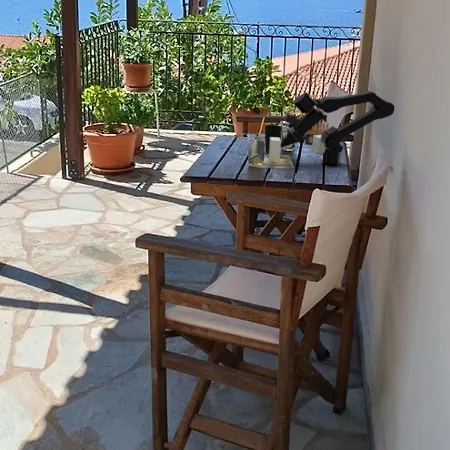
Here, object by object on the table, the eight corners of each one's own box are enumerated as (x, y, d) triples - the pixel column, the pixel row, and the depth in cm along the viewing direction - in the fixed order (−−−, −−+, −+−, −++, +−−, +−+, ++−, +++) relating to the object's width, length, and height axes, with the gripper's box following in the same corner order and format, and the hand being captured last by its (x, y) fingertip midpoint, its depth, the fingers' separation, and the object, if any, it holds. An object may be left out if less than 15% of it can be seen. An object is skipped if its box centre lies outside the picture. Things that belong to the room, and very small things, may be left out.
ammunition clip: (304, 144, 306) (306, 119, 302) (305, 143, 308) (307, 118, 304) (326, 147, 302) (329, 121, 298) (327, 146, 304) (330, 121, 300)
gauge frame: (290, 161, 274) (292, 138, 270) (293, 168, 262) (295, 144, 259) (253, 159, 274) (254, 136, 270) (254, 167, 262) (256, 143, 258)
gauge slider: (278, 158, 272) (279, 137, 269) (280, 164, 263) (281, 143, 259) (268, 158, 272) (270, 137, 269) (270, 164, 262) (272, 142, 259)
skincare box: (318, 154, 288) (319, 138, 286) (311, 151, 293) (312, 135, 291) (329, 153, 290) (331, 137, 288) (323, 150, 296) (324, 134, 293)
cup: (274, 156, 281) (276, 128, 277) (259, 152, 286) (261, 126, 281) (283, 153, 287) (285, 126, 283) (269, 150, 291) (271, 123, 287)
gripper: (293, 103, 271) (266, 127, 274) (299, 110, 253) (269, 137, 257) (310, 122, 274) (283, 146, 277) (317, 131, 256) (287, 157, 260)
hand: (280, 146), depth 268 cm, fingers closed, pressing on gauge slider
